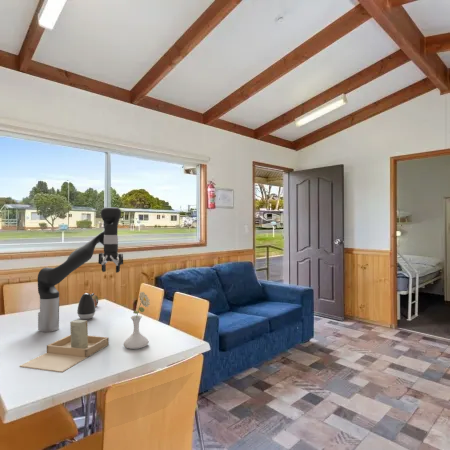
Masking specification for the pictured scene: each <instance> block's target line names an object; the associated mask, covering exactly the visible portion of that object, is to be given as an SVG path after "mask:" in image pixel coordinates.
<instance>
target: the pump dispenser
mask: <svg viewBox="0 0 450 450" xmlns="http://www.w3.org/2000/svg"><path fill="white" fill-rule="evenodd" d="M93 295H95V293H94V292H92V293H89V292H85V293H84V294H82V295H81V297H80V298H79V301H78V306H77V312H76V314H77V315H78V318H79V319H80V320H89V319H92V318H93V317H94V316H95V314H96V310H97V309H96V307H95V303H94V300H93V298H92V296H93Z"/></svg>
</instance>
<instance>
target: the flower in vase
mask: <svg viewBox="0 0 450 450" xmlns="http://www.w3.org/2000/svg"><path fill="white" fill-rule="evenodd" d="M138 298H139V301H140V303H139V307H138V308H137V309H138V310H133V312H132V313H133V314H135V315H132V316H130V319H131V321H132V324H133V333H132V334H131V335H130V336H128V337H127V338H126V339H125V340H124V341H123V344H122V345H123V346H124V347H125V348H127V349H131V350H137V349H141V348H144V347H146V346H148V344H149V341H150V340H149V339H148V338H147V337H146V336H144V335H143V334H142V333H141V332H140V328H139V327H140V322H141V319H142V317H143V316H142V315H138V314H139V312H140V313H144V312H145V310H146V309H145V308H149V307H150V305H151V303H150V299H149V297H148V294H145V291H140V292H139V294H138ZM141 305H142V306H143V307H142V306H141ZM144 307H145V308H144Z"/></svg>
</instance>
